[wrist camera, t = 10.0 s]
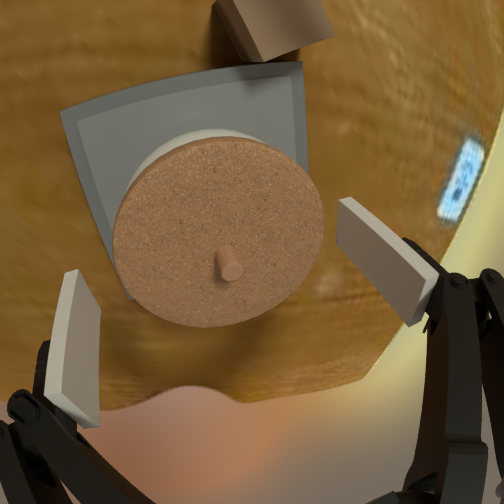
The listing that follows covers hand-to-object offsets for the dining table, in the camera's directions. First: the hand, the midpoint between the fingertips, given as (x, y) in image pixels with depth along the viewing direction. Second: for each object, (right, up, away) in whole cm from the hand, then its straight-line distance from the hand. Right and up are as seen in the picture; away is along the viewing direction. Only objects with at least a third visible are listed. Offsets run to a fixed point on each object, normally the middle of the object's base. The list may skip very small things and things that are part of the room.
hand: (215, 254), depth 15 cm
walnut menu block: (+2, +16, +3) cm, 17 cm away
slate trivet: (-2, +6, +8) cm, 11 cm away
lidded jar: (-2, +5, +6) cm, 8 cm away
